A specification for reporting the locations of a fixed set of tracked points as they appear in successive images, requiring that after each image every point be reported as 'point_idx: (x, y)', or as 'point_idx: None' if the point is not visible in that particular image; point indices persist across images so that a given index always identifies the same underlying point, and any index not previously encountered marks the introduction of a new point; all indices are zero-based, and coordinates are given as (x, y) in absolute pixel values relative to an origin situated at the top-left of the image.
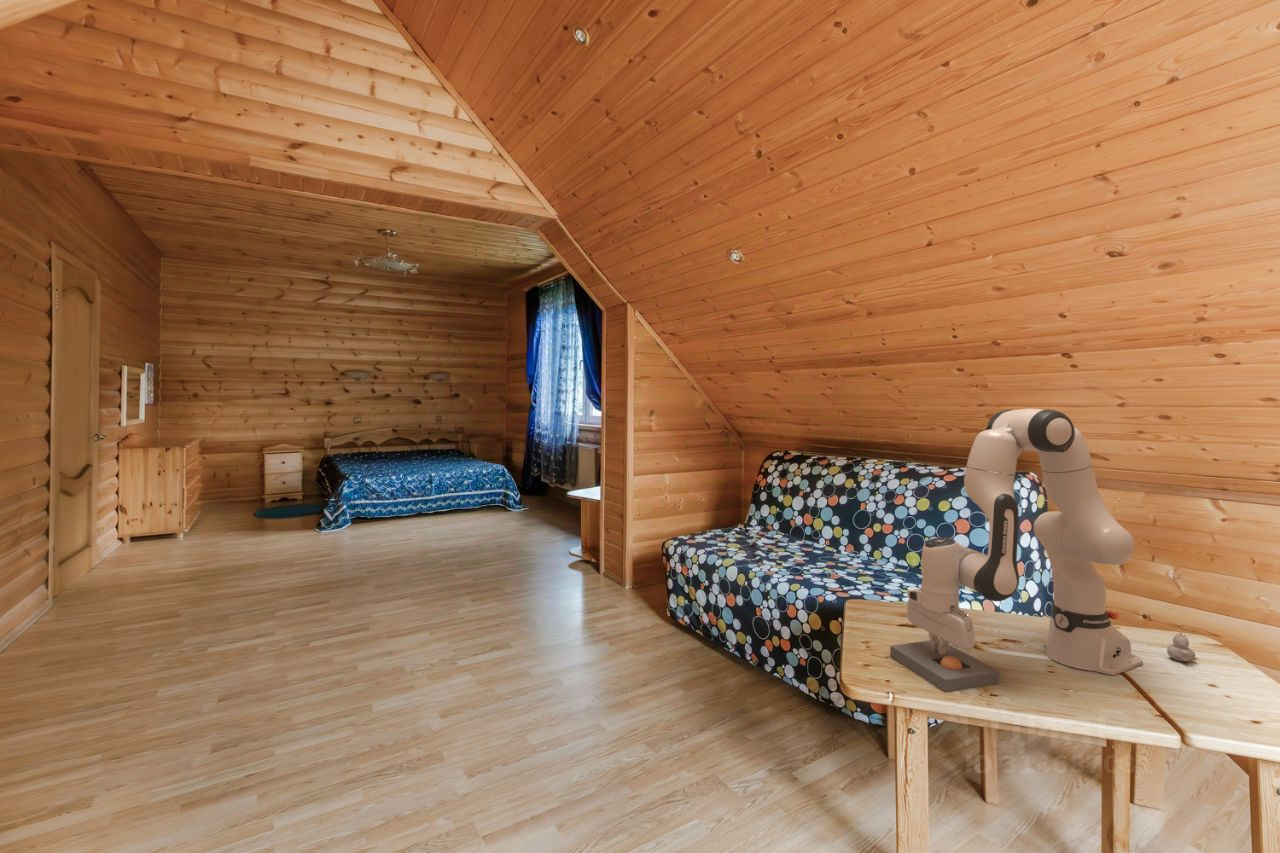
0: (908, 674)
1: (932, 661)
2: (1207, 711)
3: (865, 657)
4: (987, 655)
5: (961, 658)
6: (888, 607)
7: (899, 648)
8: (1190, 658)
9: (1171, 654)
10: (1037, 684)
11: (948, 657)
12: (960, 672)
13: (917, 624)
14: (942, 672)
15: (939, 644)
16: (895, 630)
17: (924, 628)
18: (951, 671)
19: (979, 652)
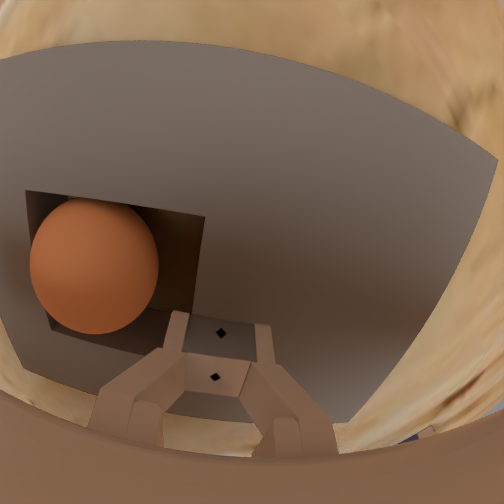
0: (246, 11)
1: (166, 190)
2: None
3: (489, 40)
4: (220, 440)
5: None
6: (496, 397)
7: (457, 168)
8: None
9: None
10: (45, 391)
11: (62, 284)
12: (3, 227)
13: (472, 439)
14: (18, 114)
15: (227, 389)
16: (484, 352)
17: (394, 463)
18: (15, 187)
19: (245, 440)
